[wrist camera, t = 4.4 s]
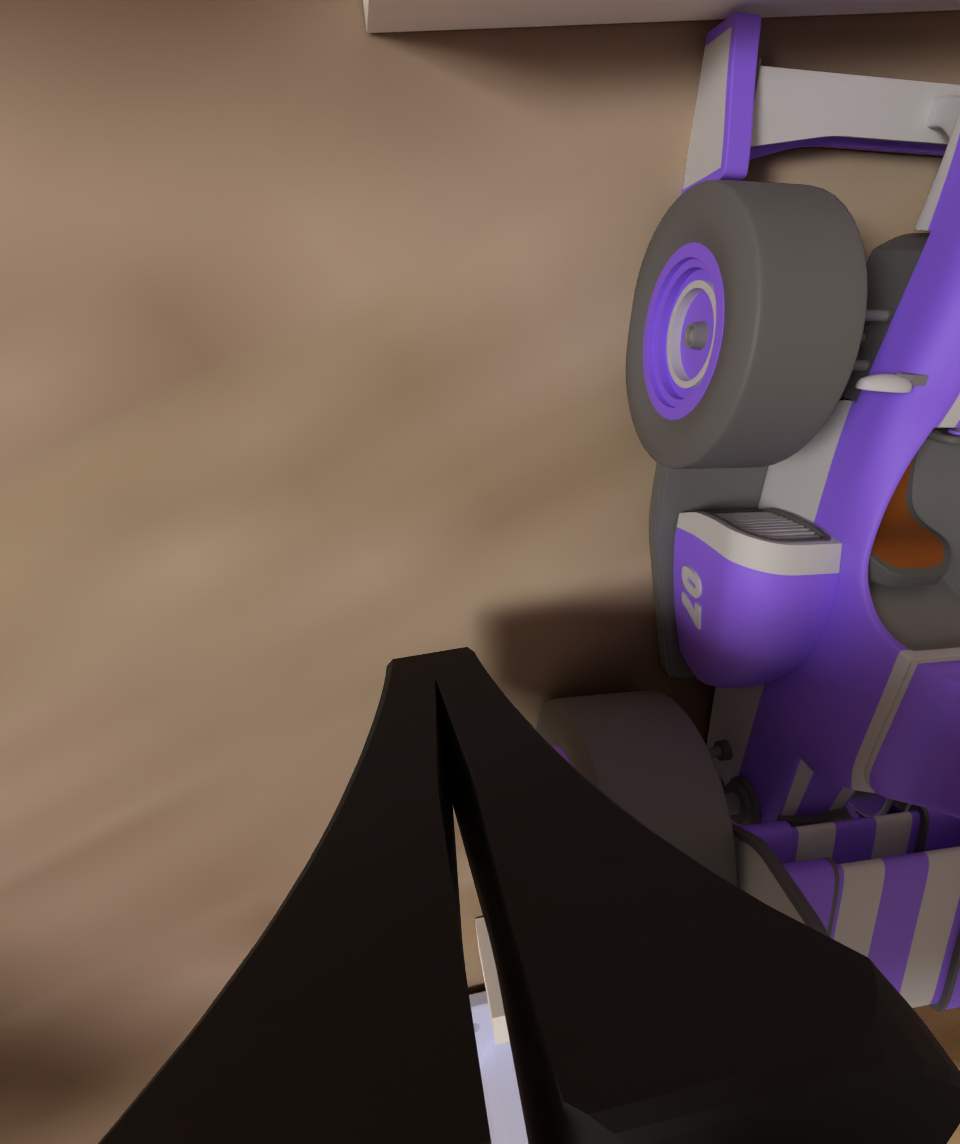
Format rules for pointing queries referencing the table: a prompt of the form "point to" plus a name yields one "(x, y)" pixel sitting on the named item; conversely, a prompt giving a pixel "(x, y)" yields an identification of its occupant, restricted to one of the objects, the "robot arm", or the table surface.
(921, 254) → the toy race car
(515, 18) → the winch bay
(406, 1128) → the robot arm
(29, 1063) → the table surface
